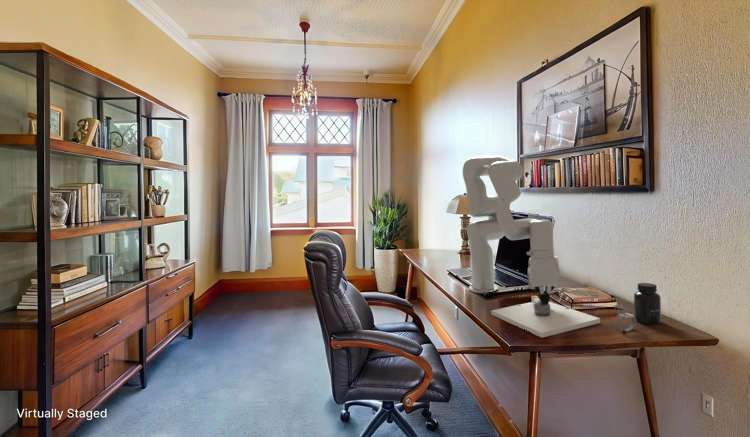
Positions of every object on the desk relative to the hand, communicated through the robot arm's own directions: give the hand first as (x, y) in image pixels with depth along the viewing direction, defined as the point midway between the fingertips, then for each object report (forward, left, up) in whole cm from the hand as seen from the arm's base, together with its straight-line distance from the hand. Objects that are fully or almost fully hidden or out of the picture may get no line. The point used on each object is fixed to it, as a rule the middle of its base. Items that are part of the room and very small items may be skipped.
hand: (544, 303), depth 130 cm
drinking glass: (-17, +20, -3) cm, 26 cm away
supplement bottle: (+23, +19, -3) cm, 30 cm away
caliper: (+3, +18, -3) cm, 18 cm away
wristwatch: (+25, +7, -3) cm, 26 cm away
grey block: (+2, -4, -1) cm, 5 cm away
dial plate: (+5, -6, -3) cm, 9 cm away
